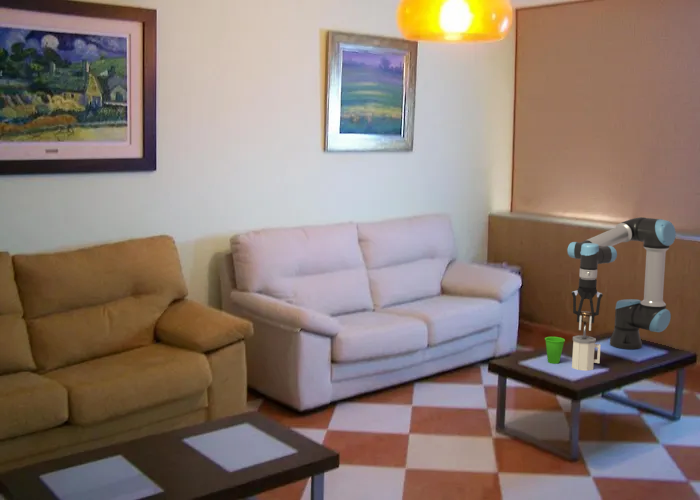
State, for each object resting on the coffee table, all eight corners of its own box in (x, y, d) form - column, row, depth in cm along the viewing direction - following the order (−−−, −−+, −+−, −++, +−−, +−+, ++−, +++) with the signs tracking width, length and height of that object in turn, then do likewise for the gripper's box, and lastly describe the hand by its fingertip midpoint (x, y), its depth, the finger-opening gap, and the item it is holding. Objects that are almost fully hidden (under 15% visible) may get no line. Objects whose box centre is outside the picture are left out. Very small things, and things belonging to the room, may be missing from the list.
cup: (562, 360, 379) (563, 337, 378) (565, 365, 370) (566, 342, 369) (542, 359, 380) (543, 336, 378) (544, 364, 371) (546, 341, 369)
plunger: (582, 357, 371) (585, 310, 368) (592, 360, 366) (595, 312, 363) (573, 358, 368) (576, 311, 365) (583, 362, 363) (586, 314, 360)
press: (571, 363, 374) (572, 334, 372) (598, 365, 371) (600, 337, 369) (571, 369, 364) (572, 340, 362) (599, 372, 361) (601, 342, 359)
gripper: (568, 278, 360) (565, 330, 364) (608, 280, 356) (604, 333, 360) (568, 275, 367) (565, 326, 371) (607, 277, 363) (603, 329, 367)
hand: (584, 329), depth 365 cm, fingers closed on plunger, 4 cm apart
